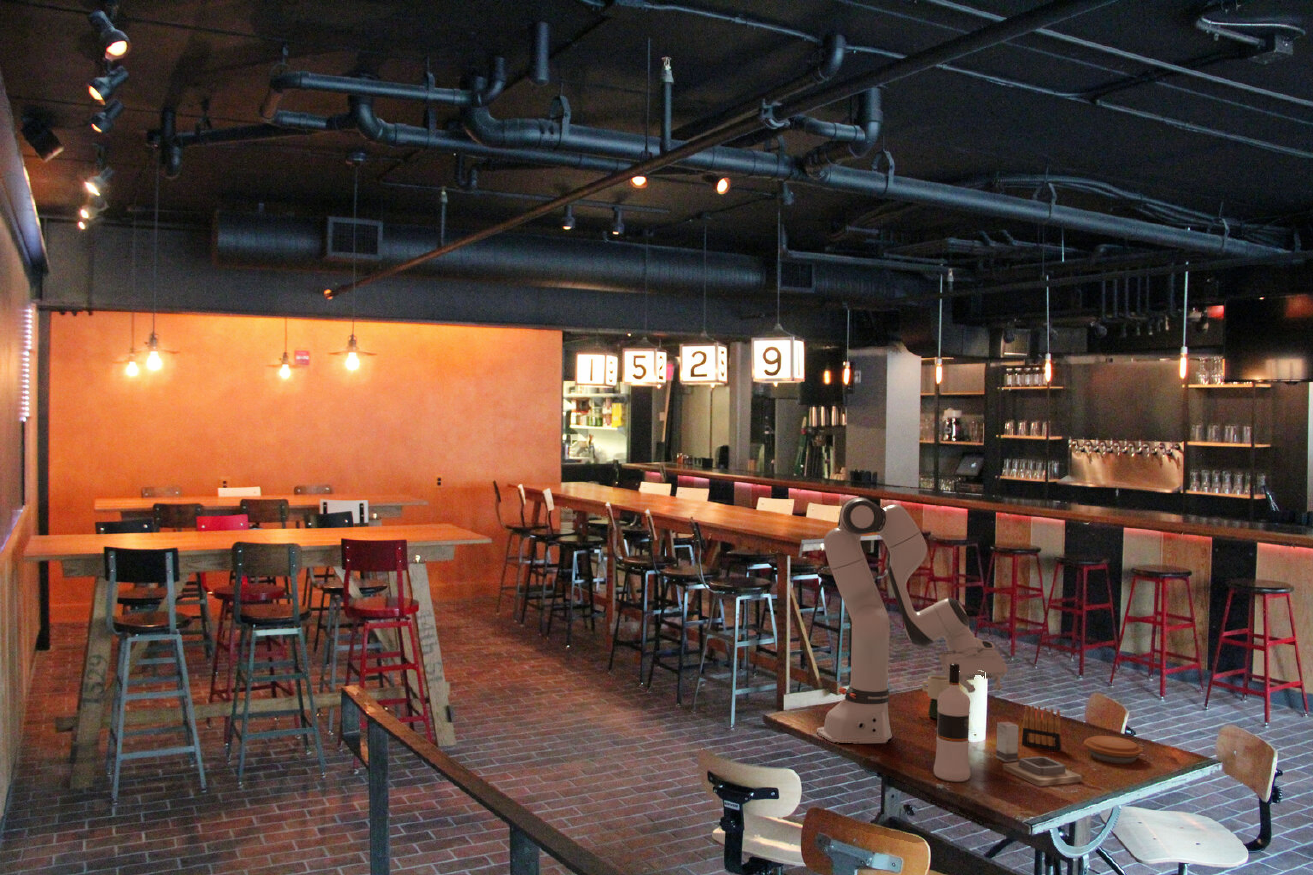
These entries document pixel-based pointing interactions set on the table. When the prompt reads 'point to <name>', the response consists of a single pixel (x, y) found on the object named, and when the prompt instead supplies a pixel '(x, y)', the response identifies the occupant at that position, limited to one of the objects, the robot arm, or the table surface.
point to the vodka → (952, 731)
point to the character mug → (935, 692)
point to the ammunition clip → (1042, 730)
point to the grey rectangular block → (1007, 741)
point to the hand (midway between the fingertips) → (985, 690)
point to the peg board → (1042, 771)
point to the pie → (1113, 749)
